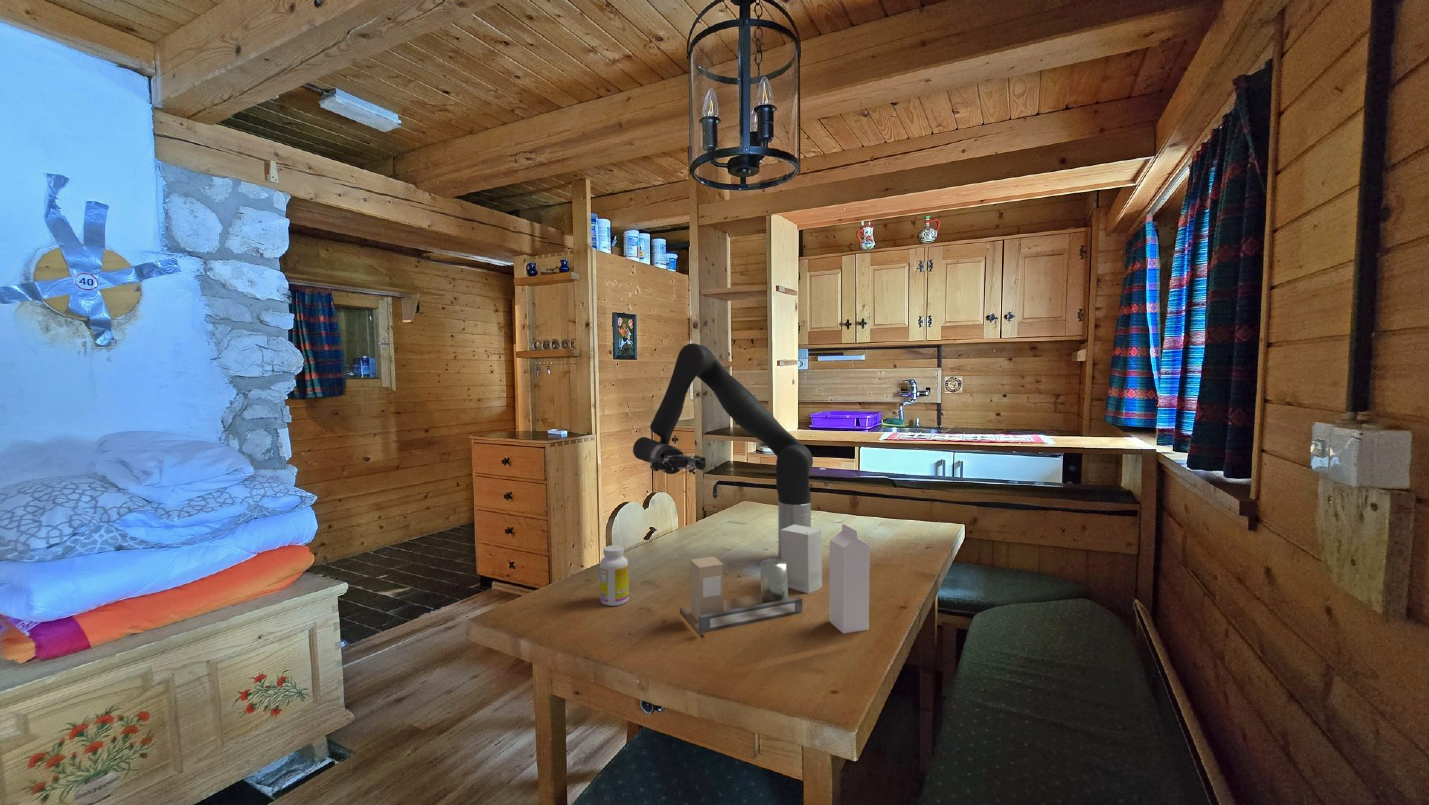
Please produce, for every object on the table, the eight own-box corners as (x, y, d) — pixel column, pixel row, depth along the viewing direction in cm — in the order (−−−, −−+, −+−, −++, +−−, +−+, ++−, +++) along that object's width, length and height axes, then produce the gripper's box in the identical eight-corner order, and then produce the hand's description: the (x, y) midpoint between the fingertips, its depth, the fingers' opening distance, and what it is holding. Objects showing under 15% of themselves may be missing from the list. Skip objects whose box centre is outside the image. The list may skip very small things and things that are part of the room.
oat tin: (775, 598, 133) (773, 556, 132) (794, 606, 128) (792, 562, 127) (756, 606, 129) (754, 563, 128) (775, 614, 124) (773, 569, 124)
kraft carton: (713, 609, 127) (713, 556, 127) (723, 619, 122) (723, 564, 122) (690, 613, 125) (690, 559, 125) (699, 623, 120) (699, 567, 120)
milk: (843, 639, 116) (843, 532, 114) (828, 626, 121) (829, 524, 120) (869, 635, 117) (870, 529, 116) (854, 622, 123) (854, 522, 122)
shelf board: (773, 596, 138) (773, 579, 137) (802, 618, 126) (802, 599, 125) (679, 613, 128) (679, 594, 128) (701, 638, 116) (701, 618, 116)
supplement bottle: (631, 596, 138) (631, 544, 137) (624, 607, 132) (624, 552, 131) (604, 595, 139) (604, 543, 138) (596, 606, 132) (595, 552, 132)
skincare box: (822, 591, 141) (823, 529, 140) (807, 599, 136) (808, 534, 135) (794, 582, 146) (795, 523, 146) (779, 590, 142) (779, 528, 141)
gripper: (642, 446, 157) (660, 454, 142) (690, 443, 163) (712, 451, 148) (642, 473, 157) (660, 484, 143) (690, 469, 163) (712, 479, 148)
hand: (686, 467), depth 145 cm, fingers open, 8 cm apart
